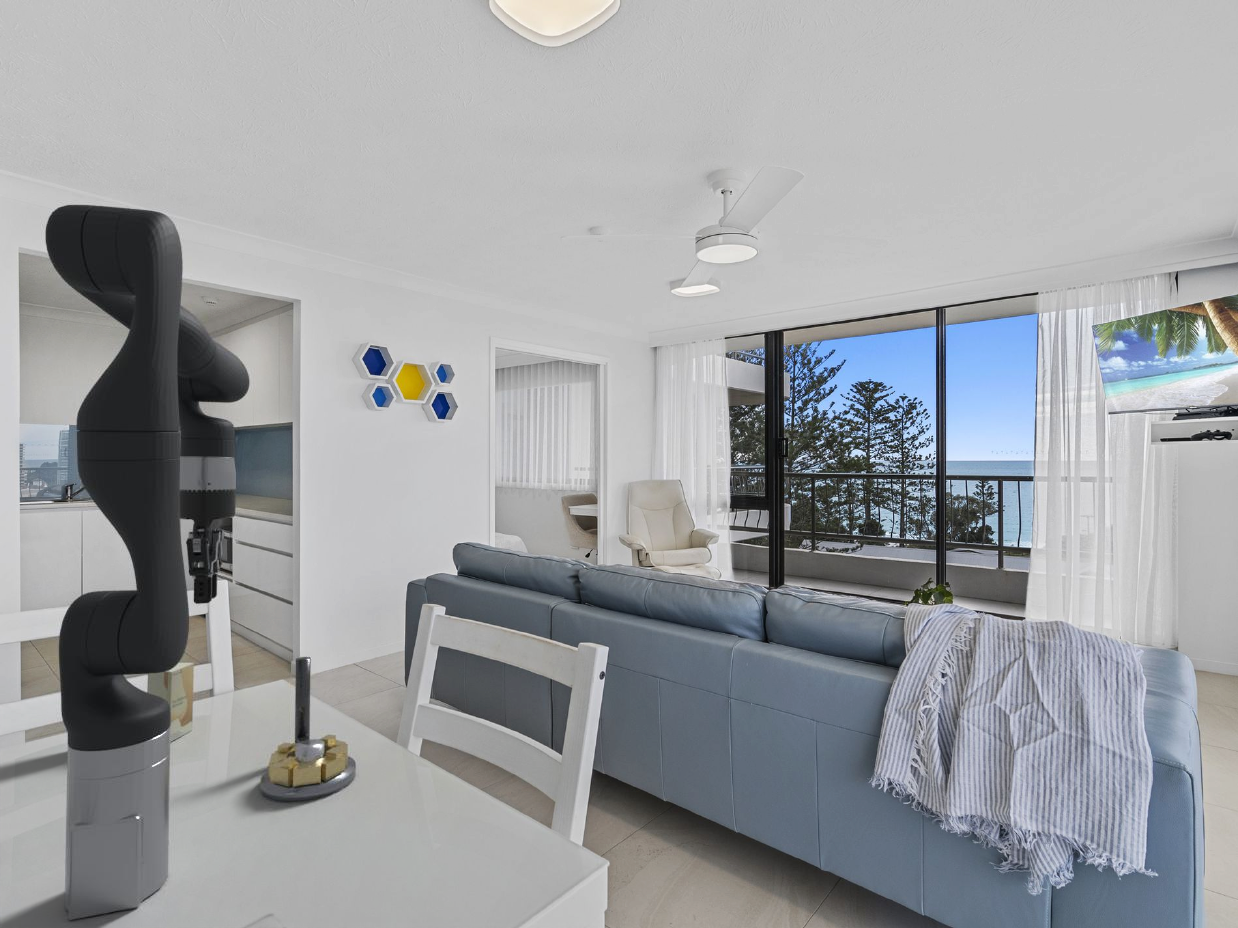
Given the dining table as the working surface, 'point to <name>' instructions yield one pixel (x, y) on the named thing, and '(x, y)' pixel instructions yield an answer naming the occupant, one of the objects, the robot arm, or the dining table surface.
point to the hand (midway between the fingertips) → (205, 599)
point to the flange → (290, 794)
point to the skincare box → (175, 695)
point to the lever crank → (284, 761)
